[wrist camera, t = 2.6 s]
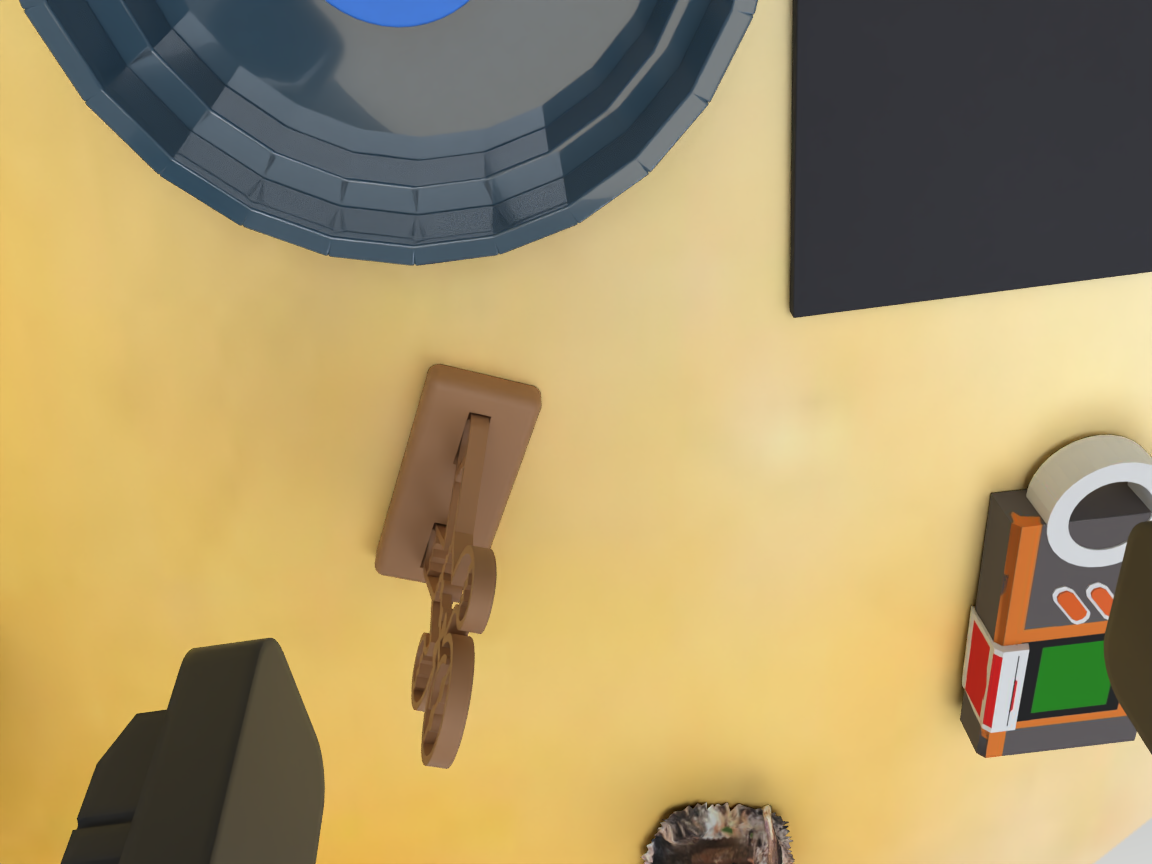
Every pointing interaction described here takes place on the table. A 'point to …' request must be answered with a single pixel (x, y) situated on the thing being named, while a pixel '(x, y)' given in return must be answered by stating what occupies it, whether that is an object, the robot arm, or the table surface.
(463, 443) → the brown scrollwork wall hook
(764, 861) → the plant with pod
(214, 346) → the table surface
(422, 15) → the tape roll
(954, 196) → the mat
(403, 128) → the bowl
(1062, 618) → the electronic device
